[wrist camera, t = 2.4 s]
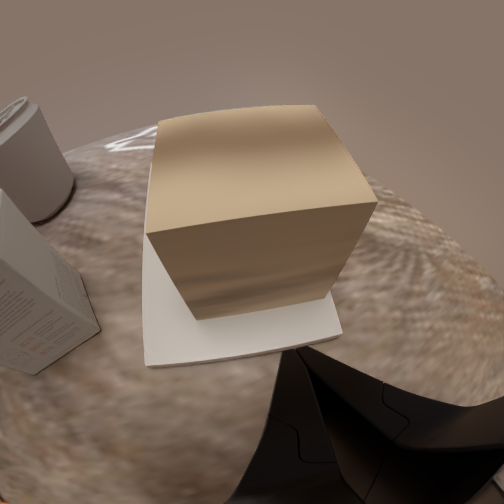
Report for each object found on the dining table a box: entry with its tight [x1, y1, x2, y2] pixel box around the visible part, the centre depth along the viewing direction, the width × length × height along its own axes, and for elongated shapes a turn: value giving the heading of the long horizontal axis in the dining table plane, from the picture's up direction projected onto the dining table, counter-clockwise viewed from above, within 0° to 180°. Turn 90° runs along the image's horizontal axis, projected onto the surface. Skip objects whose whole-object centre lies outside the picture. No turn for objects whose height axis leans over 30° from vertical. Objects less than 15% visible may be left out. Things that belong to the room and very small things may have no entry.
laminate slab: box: [142, 163, 343, 368], centre depth 20 cm, size 18×12×1 cm, turn 10°
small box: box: [0, 189, 100, 375], centre depth 12 cm, size 8×6×10 cm
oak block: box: [146, 105, 378, 321], centre depth 14 cm, size 7×8×9 cm
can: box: [0, 97, 74, 222], centre depth 18 cm, size 8×8×12 cm
